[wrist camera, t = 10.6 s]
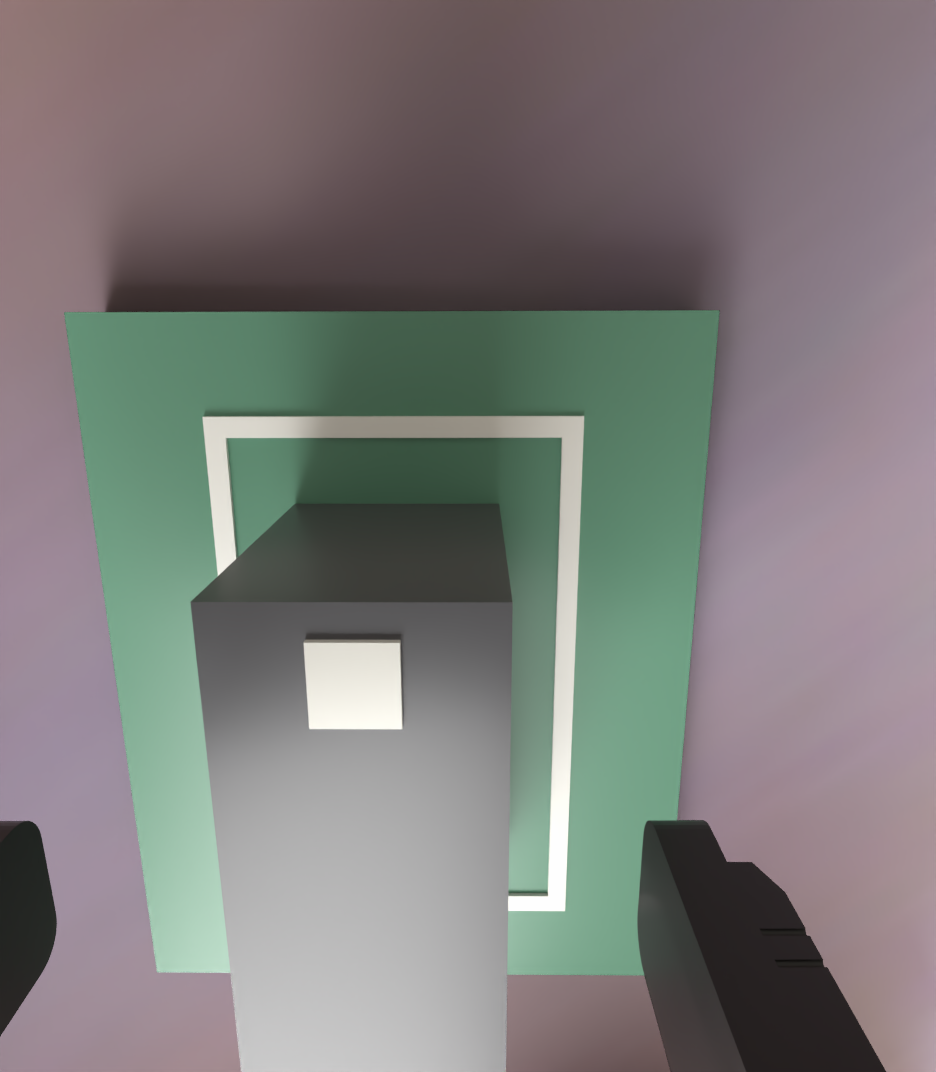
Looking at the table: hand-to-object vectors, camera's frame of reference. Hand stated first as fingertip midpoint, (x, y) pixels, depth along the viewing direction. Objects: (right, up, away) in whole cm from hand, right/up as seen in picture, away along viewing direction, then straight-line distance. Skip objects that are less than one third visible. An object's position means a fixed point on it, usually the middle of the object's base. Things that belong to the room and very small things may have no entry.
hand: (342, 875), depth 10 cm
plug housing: (0, +1, +6) cm, 6 cm away
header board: (0, +2, +7) cm, 7 cm away
